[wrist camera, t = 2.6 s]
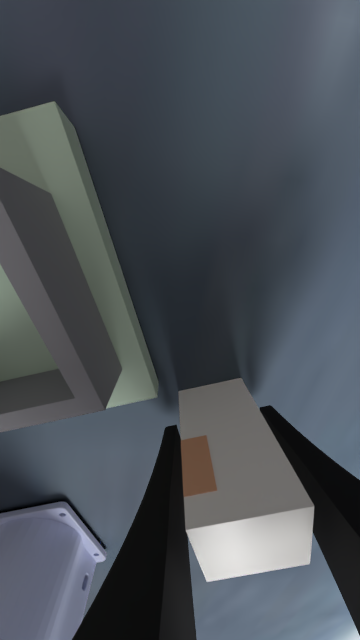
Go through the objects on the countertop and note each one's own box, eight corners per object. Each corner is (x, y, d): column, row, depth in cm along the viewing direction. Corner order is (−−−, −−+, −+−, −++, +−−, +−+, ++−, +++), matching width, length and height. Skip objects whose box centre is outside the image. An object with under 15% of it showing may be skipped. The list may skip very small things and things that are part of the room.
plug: (246, 423, 12) (309, 564, 7) (191, 435, 12) (207, 582, 7) (240, 377, 11) (314, 505, 5) (178, 390, 11) (185, 529, 5)
